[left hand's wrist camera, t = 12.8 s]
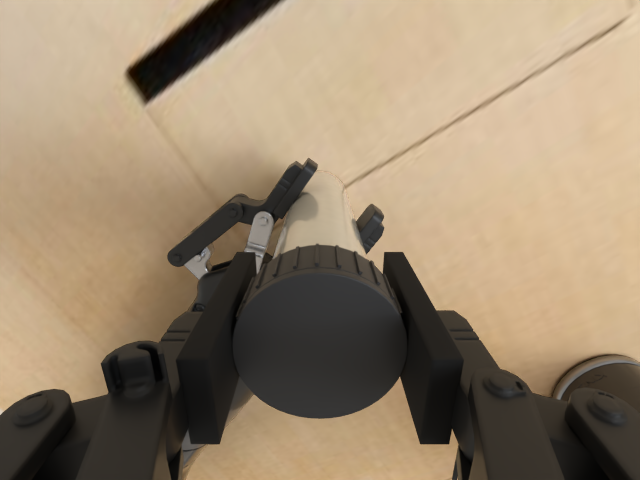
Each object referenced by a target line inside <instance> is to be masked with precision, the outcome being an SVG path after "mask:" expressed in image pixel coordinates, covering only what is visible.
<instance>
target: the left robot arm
mask: <svg viewBox="0 0 640 480" xmlns="http://www.w3.org/2000/svg"><path fill="white" fill-rule="evenodd" d="M383 273H384V274H385V275H386V277H387V280H388V282H389V285H390V287H391V288H393V290H394V292H395V295H396V297H397V300H398V302H399V305H400V307H401V309H402V312H403V315H402V316H401V317H402V319H403V322H404V325H405V328H406V332H407V338H408V351H407V358H406V363H405V365H404V368H403V371H402V373H401V375H400V377H401V381H402V384H403V388H404V391H405V394H406V398H407V401H408V404H409V408H410V411H411V415H412V418H413V421H414V425H415V428H416V431H417V435H418V438H419V441H420V444H449V442H450V436H451V431H452V429H453V432H454V434H455V436H456V439H457V441H458V444H459V445H458V450H457V455H456V460H455V466H454V471H453V477H452V480H457V477H458V480H640V413H639V412H638V411H637V410H636V409H634V408H633V407H632V406H631V405H629V404H628V403H627V402H626V401H624V400H622V399H620V398H618V397H616V396H615V395H613V394H610V393H608V392H605V391H602V390H599V389H593V388H579V389H576V390H574V391H573V392H572V393H571V395H570V398H569V401H568V402H567V401H563V400H559V399H554V398H550V397H546V396H541V395H538V394H535V393H532V392H531V390H530V389H529V387H528V386H527V384H526V383H525V382H524V381H522V380H521V379H520V378H519V377H518V376H516V375H514V374H512V373H510V372H508V371H505V370H502V369H500V368H499V367H498V365H497V364H496V362H495V361H494V359H493V358H492V356H491V355H490V354H489V352H488V351H487V349H486V348H485V346H484V345H483V343H482V342H481V340H479V337H478V336H477V335H476V333H475V332H473V329H472V327H471V326H470V324H469V323H468V321H467V320H466V319H465V318H463V317H462V316H461V315H459V314H458V313H457V312H455V311H436V310H435V308H434V306H433V304H432V303H431V301H430V299H429V297H428V295H427V294H426V292H425V290H424V288H423V287H422V285H421V283H420V281H419V280H418V278H417V276H416V274H415V273H414V271H413V269H412V267H411V266H410V264H409V262H408V260H407V259H406V257H405V255H404V253H403V252H384V265H383ZM256 275H257V268H256V254H255V252H237V253H236V255H235V256H234V258H233V260H232V262H231V263H230V265H229V267H228V269H227V270H226V272H225V274H224V276H223V277H222V279H221V281H220V283H219V285H218V286H217V288H216V290H215V292H214V293H213V295H212V297H211V299H210V300H209V302H208V304H207V306H206V307H205V309H204V311H203V312H185V313H184V314H182V315H181V316H179V317H178V318H177V319H175V320H174V321H173V323H172V324H171V325H170V327H169V328H168V330H167V333H165V334H164V336H163V337H162V339H161V341H160V342H159V343H157V342H152V341H137V342H133V343H129V344H126V345H124V346H122V347H120V348H117V349H115V350H114V351H113V352H111V353H110V354H109V355H107V356H106V357H105V359H104V360H103V361H102V363H101V366H102V370H103V373H104V377H105V381H106V384H107V388H108V394H107V395H103V396H100V397H96V398H92V399H88V400H83V401H79V402H75V403H72V402H71V399H70V396H69V394H68V393H66V392H65V391H64V390H58V389H51V390H44V391H40V392H37V393H34V394H32V395H29V396H27V397H25V398H23V399H21V400H19V401H18V402H16V403H14V404H13V405H12V406H10V407H9V408H8V409H7V410H5V411H4V412H3V413H2V414H1V415H0V480H182V473H183V462H184V456H183V450H182V442H183V440H184V438H185V435H186V433H187V430H188V432H189V437H190V443H191V444H220V441H221V437H222V434H223V431H224V427H225V424H226V421H227V417H228V414H229V410H230V407H231V404H232V400H233V397H234V394H235V390H236V387H237V384H238V380H239V377H240V375H239V373H238V371H237V369H236V366H235V363H234V360H233V353H232V336H233V331H234V327H235V324H236V321H237V320H235V317H236V314H237V312H238V309H239V307H240V304H241V302H242V299H243V297H244V294H245V292H247V289H248V286H249V284H250V281H251V279H252V277H256Z"/></svg>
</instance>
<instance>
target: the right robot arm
mask: <svg viewBox="0 0 640 480" xmlns="http://www.w3.org/2000/svg"><path fill="white" fill-rule="evenodd" d="M317 167H318V164H316V163H315V162H314V161H312V160H311V159H309V158H308V159H307V160H306V162H305V163H304V165H301V164H300V163H299V162H297V161H296V162H294V163H293V164H291V165H290V166H289V167H288V168H287V170H286V171H285V173H284V174H283V176H282V177H281V179H280V180H279V182H278V183H277V185H276V186H275V188H274V189H273V191H272V192H271V194H270V195H269V196H268V197H267V198H266V199H264V200H261V201H258V200H253V199H250V198H248V197H247V196H246V195H244V194H237V195H235V196H234V197H233V198H232V199H230V200H229V201H228V202H227V203H225V204H224V205H223V206H222V207H221V208H219V209H218V210H217V211H216V212H215V213H213V214H212V215H211V216H210V217H208V218H207V219H206V220H205V221H204V222H202V223H201V224H200V225H199V226H198V227H196V228H195V229H194V230H193V231H191V232H190V233H189V234H188V235H187V236H185V237H184V238H183V239H182V240H181V241H180V242H179V243H178V244H177V245H176V246H175V247H174V248H173V249H172V250H171V251H170V252H169V253H168V256H167V257H168V261H169V262H170V263H171V264H172V265H174V266H177V267H181V266H183V265H184V266H185V267H186V268H187V269H188V270H189V271H190V272H191V273H192V274H193V275H194V276H196V277H197V278H198V279H199V282H198V286H197V289H198V293H197V297H196V299H195V300H194V302H193V303H192V305H191V306H190V308H189V309H188V311H187V312H203V311H204V309H205V307H206V306H207V304H208V302H209V300H210V299H211V297H212V295H213V293H214V292H215V290H216V288H217V286H218V285H219V283H220V281H221V279H222V277H223V276H224V274H225V272H226V270H227V269H228V267H229V265H230V263H231V262H232V260H230V261H227V262H224V263H221V264H217V265H214V266H212V265H211V264H210V257H211V256H212V254H213V253H214V246H213V244H212V242H213V241H215V240H216V239H217V238H218V237H220V236H221V235H222V234H223V233H225V232H226V231H227V230H228V229H230V228H231V227H232V226H233V225H235V224H236V223H237V222H242V223H246V224H250V225H252V227H251V231H250V235H249V238H248V242H247V245H246V248H245V251H244V252H255V254H256V268H257V274H258V273H259V272H260V270H261V269H262V266H263V265H264V264H268V263H269V262H270V261H271V260H272V258H273V257H272V256H271V255H269V254H268V253H266V252H267V248H268V245H269V242H270V238H271V234H272V231H273V227H274V224H275V222H276V221H277V220H278V218H281V219H283V217H284V216H285V214H286V213H287V211H288V210H289V208H290V207H291V206H292V204H293V203H294V202H295V200H296V199H297V197H298V196H299V194H300V193H301V192H302V190H303V189H304V187H305V186H306V184H307V183H308V182H309V180H310V179H311V177H312V176H313V175H314V173H315V171H316V170H317ZM383 219H384V215H383V213H382V212H381V210H380V209H379V208H377V207H376V206H374V205H373V204H370V205H369V206H368V207H367V208H366V210H365V211H364V212H363V214H362V215H361V216H360V217H359V219H358V220H357V221H356V224H357V227H358V230H359V234H360V237H361V240H362V243H363V246H364V250H365V253H366V254H367V253H368V252H369V251H370V249H371V248H372V247H373V246H374V245H375V243H376V242H377V241H378V240H379V239H380V237H381V236H382V233H383V230H384V227H383V225H382V223H381V222H382V221H383ZM579 388H593V389H599V390H602V391H605V392H608V393H610V394H613V395H615V396H616V397H618V398H620V399H622V400H624V401H626V402H627V403H628V404H629V405H631V406H632V407H633V408H634V409H636V410H637V411H638V412H639V413H640V363H639V362H638V361H636V360H634V359H632V358H629V357H625V356H618V355H610V356H602V357H598V358H594V359H591V360H588V361H586V362H584V363H582V364H580V365H578V366H576V367H575V368H573V369H572V370H571V371H569V372H568V373H567V374H566V375H565V376H564V377H563V378H562V379H561V380H560V382H559V383H558V385H557V386H556V388H555V390H554V393H553V396H552V398H554V399H559V400H563V401H567V402H568V401H569V398H570V395H571V393H572V392H573V391H574V390H576V389H579ZM252 396H253V393H252V392H251V390H250V389H249V388H248V387H247V386H246V385H245V383H244V382H243V380H242V379H241V377H239V380H238V384H237V387H236V390H235V394H234V397H233V400H232V404H231V407H230V410H229V414H228V417H227V421H226V424H225V427H226V426H227V425H228V424H229V423H230V422H231V421H232V420H233V419H234V417H235V416H236V415H237V414H238V413H239V411H240V410H241V409H242V408H243V407H244V405H245V404H246V403H247V402H248V401H249V399H250V398H251V397H252ZM225 427H224V428H225ZM207 445H208V444H191V443H190V437H189V432H188V430H187V433H186V435H185V438H184V440H183V442H182V450H183V456H184V462H183V473H182V480H185V479H186V477H187V475H188V473H189V470H190V468H191V466H192V464H193V462H194V460H195V459H196V458H197V457H198V456H199V455H200V453H201V452H202V451H203V450H204V449H205V447H206V446H207Z"/></svg>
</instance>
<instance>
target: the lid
mask: <svg viewBox="0 0 640 480" xmlns="http://www.w3.org/2000/svg"><path fill="white" fill-rule="evenodd" d="M402 315H403V312H402V309H401V307H400V305H399V302H398V300H397V297H396V295H395V292H394V290H393V288H391V287H390V285H389V282H388V280H387V277H386V275H385V274H384V273H383V274H382V273H381V272H380V271H379V270H378V268H377V267H376V266H375V265H374V262H373V261H369V260H367V259H366V258H364V257H363V256H361V255H359V254H358V252H357V251H354V252H353V251H351V250H348V249H344V248H341V247H339V245H336V246H331V245H319V244H316V245H309V246H304V247H299V246H297V247H296V248H295V249H292V250H289V251H287V252H285V253H283V254H281V253H279V254H278V256H277V257H276V258H274V259H272V260H271V261H270V262H269V263H268V264H264V265H263V266H262V269H261V270H260V272H259V273H258V274H257V275H256V277H252V279H251V281H250V284H249V286H248V289H247V292H245V294H244V297H243V299H242V302H241V304H240V307H239V309H238V312H237V314H236V317H235V320H237V321H236V324H235V327H234V331H233V336H232V353H233V360H234V363H235V366H236V369H237V371H238V373H239V375H240V377H241V379H242V380H243V382H244V383H245V385H246V386H247V387H248V388H249V389H250V390H251V392H252V393H253V394H254V395H256V396H257V397H258V398H259V399H261V400H262V401H263V402H265V403H266V404H268V405H270V406H271V407H273V408H275V409H277V410H280V411H282V412H285V413H288V414H291V415H295V416H299V417H306V418H319V419H321V418H334V417H341V416H345V415H348V414H352V413H355V412H357V411H360V410H362V409H364V408H366V407H368V406H370V405H372V404H373V403H375V402H376V401H378V400H379V399H380V398H382V397H383V396H384V395H385V394H386V393H387V392H388V391H389V390H390V389H391V388H392V387H393V386H394V384H395V383H396V381H397V380H398V378H399V377H400V375H401V373H402V371H403V368H404V365H405V363H406V358H407V351H408V338H407V332H406V328H405V325H404V322H403V319H402V317H401V316H402Z"/></svg>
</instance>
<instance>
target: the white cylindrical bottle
mask: <svg viewBox="0 0 640 480" xmlns="http://www.w3.org/2000/svg"><path fill="white" fill-rule="evenodd" d="M316 244H319V245H331V246H336V245H339V247H341V248H344V249H348V250H351V251H353V252H354V251H357V252H358V254H359V255H361V256H363V257H364V258H366V259H367V256H366V253H365V250H364V246H363V243H362V240H361V237H360V234H359V230H358V227H357V224H356V221H355V217H354V214H353V211H352V208H351V205H350V201H349V198H348V195H347V192H346V189H345V186H344V184H343V183H342V181H341V180H340V179H339V178H338V177H336V176H335V175H333V174H331V173H329V172H325V171H315V173H314V175H313V176H312V177H311V179H310V180H309V182H308V183H307V184H306V186H305V187H304V189H303V190H302V192H301V193H300V194H299V196H298V197H297V199H296V200H295V202H294V203H293V204H292V206H291V207H290V208H289V210H288V211H287V214H286V217H285V220H284V223H283V226H282V230H281V233H280V236H279V239H278V242H277V246H276V249H275V252H274V255H273V258H272V259H274V258H276V257H277V256H278V254H279V253H281V254H283V253H285V252H287V251H289V250H292V249H295V248H296V247H297V246H299V247H304V246H309V245H316ZM367 260H368V259H367Z"/></svg>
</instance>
